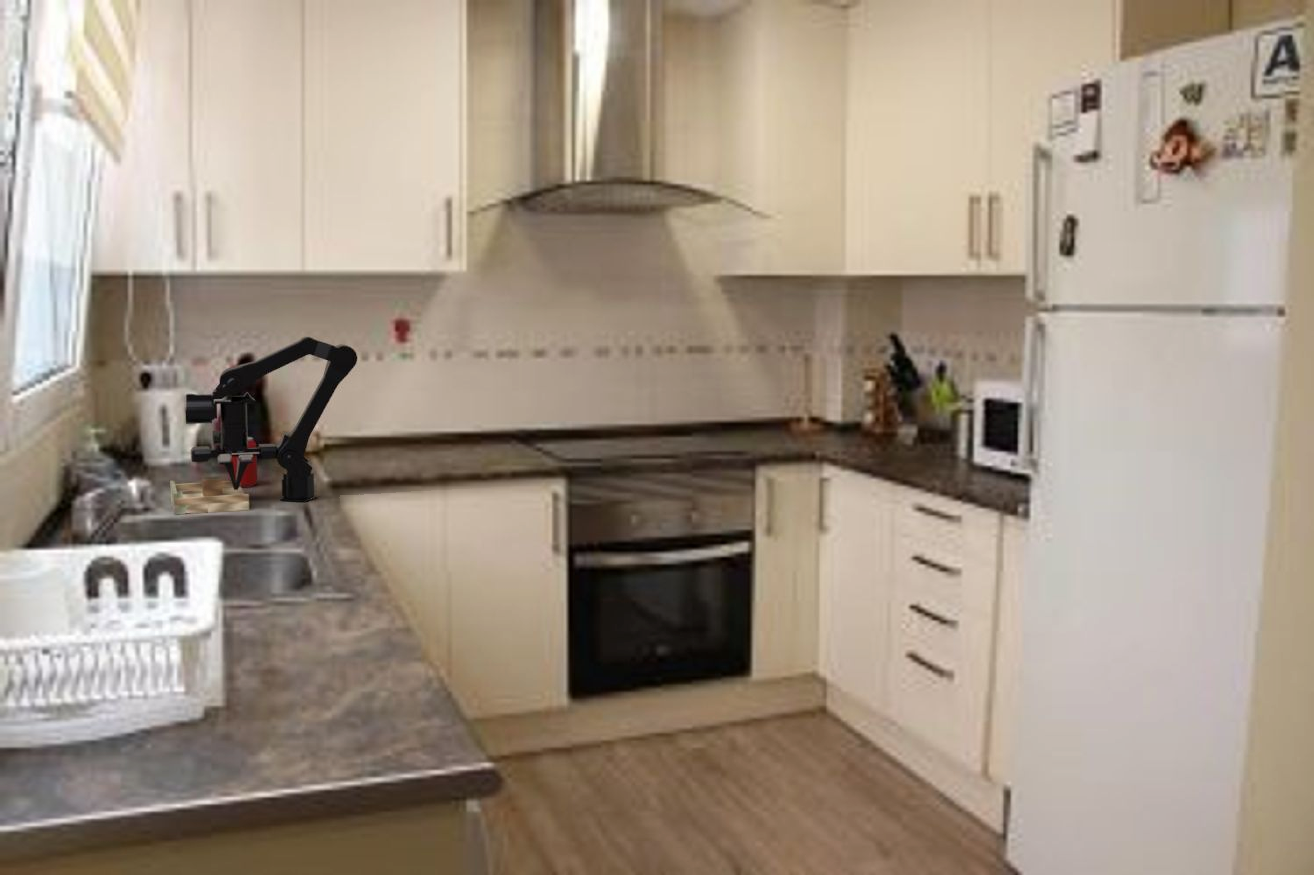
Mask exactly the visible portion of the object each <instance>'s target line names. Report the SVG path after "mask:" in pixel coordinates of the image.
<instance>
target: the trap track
mask: <svg viewBox="0 0 1314 875" xmlns="http://www.w3.org/2000/svg"><path fill="white" fill-rule="evenodd" d="M169 482H170V484H169V485H170V502H171V505H172V509H173V514H174V515H175V514H180V515H186V514H185V513H194V514H207V513H206V512H208V513H209V514H210V513H221V512H234V511H235V512H236V511H249V510H250V494H249V493H245V492H244V490H243V487H241V482H240V485H239V488H238V490H234V488H233V485H232V482H231V481H229V480H227V481H226V480H225V481H223V480H222V491H223V496H207V497H204V496H203V487H202V482H192V483H190V482H189V483H175V480H170V481H169Z"/></svg>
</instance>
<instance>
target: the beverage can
mask: <svg viewBox="0 0 1314 875" xmlns="http://www.w3.org/2000/svg"><path fill="white" fill-rule="evenodd" d="M248 448H257V443H256V442H255V440H254V437H251V436H248ZM257 457H258V456H253V457H252V460H253V463H249V464H248V466H247V468H246V470H245V472H244V474H243V476H242V479H241V488H251V487H253V486H255V485H256V484H257V483H258V458H257ZM237 458H239V456H238V457H231V460H232V461H233V466H234V473H235V479H236V473H237ZM228 481H231V479H230V476H229V475H228Z"/></svg>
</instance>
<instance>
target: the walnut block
mask: <svg viewBox="0 0 1314 875" xmlns="http://www.w3.org/2000/svg"><path fill="white" fill-rule="evenodd" d="M201 479H202V480H201V481H202V482H201V483H202V487H203V496H204V497H207V496H223V491H222V482H223V478H222V476H205V477H201Z"/></svg>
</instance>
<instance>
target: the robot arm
mask: <svg viewBox="0 0 1314 875" xmlns="http://www.w3.org/2000/svg"><path fill="white" fill-rule="evenodd" d="M308 355H309V356H312V357H313V356H314V357H316V358H319V359H322V360H325V361H326V363H325V367H324V371H323V375H322V378H321V380H320V381H319V382H318V385H317V387H316V388H315V390H314V392H313V394H312V396H311V398H310V400H309V401H308V403H307V405H306V407H305V409H304V410H303V412H302V414H301V416H300V417H299V419H298V421H297V422H296V424H295V426H294V428H293V429H292V430H291V431H290V432H289V433H287V432H286V431H283V432H282V434H281V435H280V436H281V437H280V439H279V441H278V442H277V443H276V444H274V443H260V444H259V443H258V446H257V447H256V448H248V437H249V436H248V406H247V404H255V403H256V400H255V398H253V397H252V396H251V394H250V393H249V392H248V391H247V392H245V394H244V395H238V394H240V393H243V391H245V390H246V389H248V388H249V387H250V386H253V384H254V383H256V382H257V381H259V379H261V378H262V377H264V376H266V375H268V374H270V373H273V372H275V371H277V370H279V369H280V368H283V367H286V366H287V365H289V364H292V363H294V362H295V361H297V360H300V359H302V358H303V357H306V356H308ZM357 363H358V354H357V352H356V351H355V349H354V348H352V347H351V346H349V345H347V344H337V345H333V344H331V343H327V342H324V341H320V340H317V339H314V338H313V337H311V336H304V337H302V338H300V339H298V340H297V341H295V342H293V343H291V344H289V345H287V346H285V347H283V348H280V349H278V350H276V351H274V352H271V353H270V354H267V355H265V356H263V357H261V358H259V359H257V360H254V361H251V362H247V363H243V364H239V365H235V366H231V367H228V368H225V369H224V370H222V372H221V373H220V376H219V383H218V385H217V386H216V387H215V388H214V389H212V390H213V391H212V392H211V394H207V393H206V394H195V393H187V394H186V395H185V399H186V400H185V401H186V402H185V406H186V407H185V411H184V412H185V424H187V425H189V424H191V425H192V424H193V425H196V424H197V425H198V424H200V425H201V424H213V421H215V419H216V420H217V419H218V405H219V408H220V409H219V410H220V411H219V412H220V415H219V416H220V430H212V434H211V435H212V436H211V438H212V445H213V446H219V447H220V449H211V448H210V446H209V445H205V446H193V447H191V448H190V460H191V462H192V463H203V462H205V463H206V462H208V461H209V460H210V459H211V458H217V462H218V465H222V466H223V465H224V467H225V469H226V472H227V473H228V477H229V476H230V479H231V482H232V485H233V488H234V490H238V488H239V485H240V482H241V479H242V476H243V474H244V472H245V470H246V468H247V466H248V464H249V463H253V460H252V457H253V456H257V457H258V456H261V457H262V458H263V459H264V460H268V459H269V460H270V459H272V460H273V459H276V461H277V463H278V465H279V466H280V467H281V468H282V469H284V470H286V472H283V473H282V478H283V479H281V496H282V497H280V499H279V500H280V501H285V502H288V501H289V502H301V501H302V502H301V503H303V501H306V500H308V501H310V500H309V499H311V498H313V497H316V496H318V494H315V475H314V474H315V473H314V472H312V470H313V467H312V464H311V462H310V460H308V459H307V458H306V457H305V454H306V451H307V448H308V444H309V439H310V436H311V434H312V433H313V431H314V429H315V428H316V425H317V423H318V422H319V420H320V418H321V417H322V415H323V414H324V411H325V409H326V408H327V405H328V404H329V402H330V400H331V399H332V397H333V395H334V393H335V391H336V389H337V387H338V386H339V384H340V383H342V381H343V380H344V379H345V378H346V377H347V376H348V375H349V373H350V372H351V371H352V370H353V369H354V367H355V366H356V365H357ZM229 395H230V399H225V400H224V398H226V397H228V396H229ZM238 456H239V458H237V473H236V479H235V473H234V466H233V461H232V460H231V457H238ZM316 498H317V497H316ZM311 500H312V499H311ZM306 502H307V501H306Z"/></svg>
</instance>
